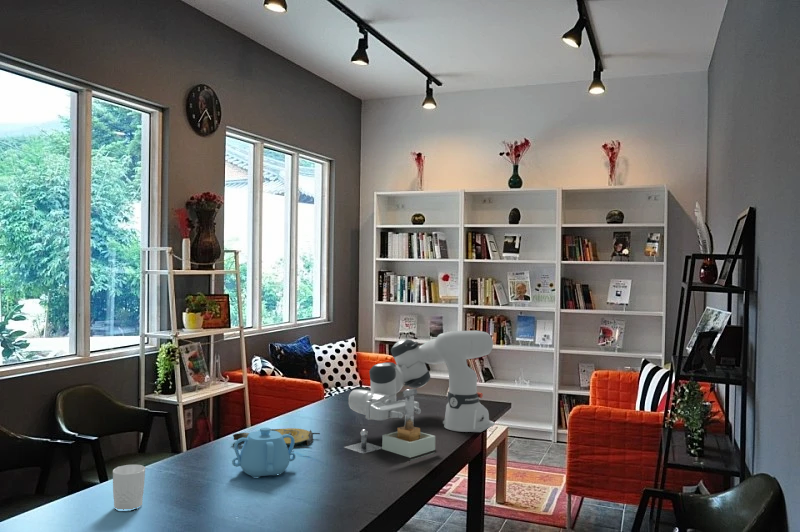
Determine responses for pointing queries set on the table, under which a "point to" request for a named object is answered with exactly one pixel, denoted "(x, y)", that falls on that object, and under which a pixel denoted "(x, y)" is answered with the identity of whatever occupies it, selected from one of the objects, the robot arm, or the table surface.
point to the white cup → (128, 486)
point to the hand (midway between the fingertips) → (411, 413)
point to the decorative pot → (264, 453)
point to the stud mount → (363, 444)
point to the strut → (409, 419)
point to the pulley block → (299, 435)
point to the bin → (409, 445)
